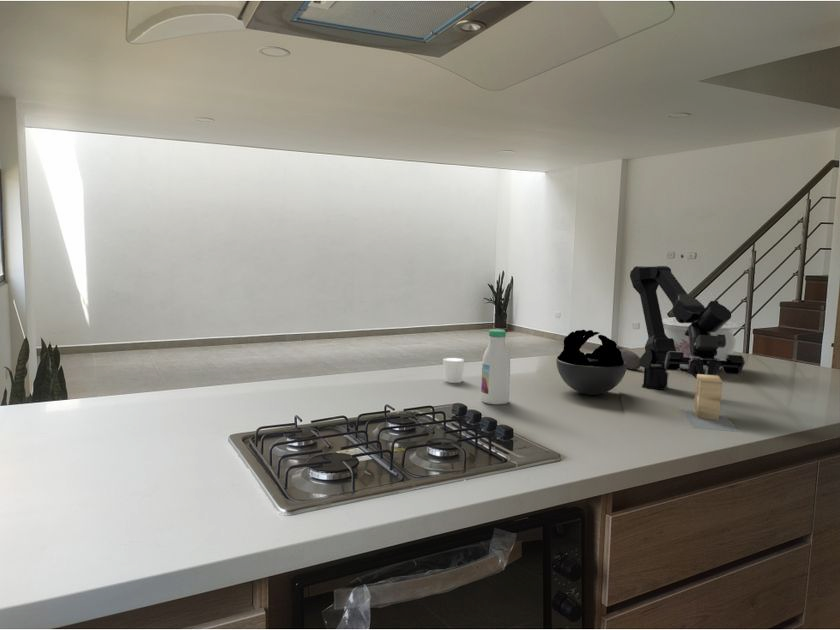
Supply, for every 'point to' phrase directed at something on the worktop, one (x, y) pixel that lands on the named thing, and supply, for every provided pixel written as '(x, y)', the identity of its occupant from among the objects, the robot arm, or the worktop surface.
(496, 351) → the milk bottle
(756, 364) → the worktop surface
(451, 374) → the white cup
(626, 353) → the perforated stone tool
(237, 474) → the worktop surface
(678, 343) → the chamber pot
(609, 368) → the coal bowl
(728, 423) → the slate mat
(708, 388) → the letter block
